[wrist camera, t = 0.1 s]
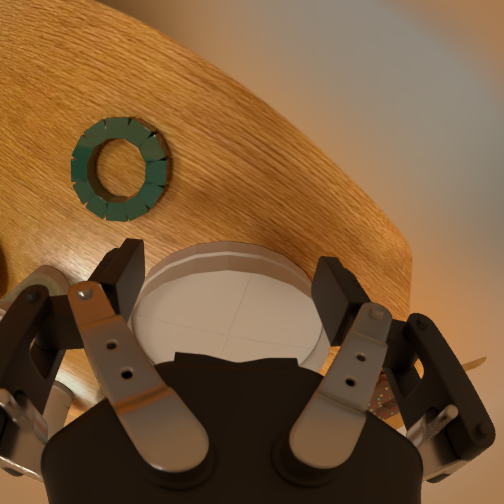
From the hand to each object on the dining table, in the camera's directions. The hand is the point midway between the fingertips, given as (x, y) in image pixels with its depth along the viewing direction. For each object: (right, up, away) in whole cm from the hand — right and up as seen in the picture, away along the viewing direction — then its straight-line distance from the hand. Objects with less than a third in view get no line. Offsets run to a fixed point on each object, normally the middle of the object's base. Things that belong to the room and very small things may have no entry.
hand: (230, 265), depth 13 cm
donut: (+24, -24, +30) cm, 45 cm away
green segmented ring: (-11, +8, +10) cm, 17 cm away
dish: (-2, -8, +20) cm, 21 cm away
